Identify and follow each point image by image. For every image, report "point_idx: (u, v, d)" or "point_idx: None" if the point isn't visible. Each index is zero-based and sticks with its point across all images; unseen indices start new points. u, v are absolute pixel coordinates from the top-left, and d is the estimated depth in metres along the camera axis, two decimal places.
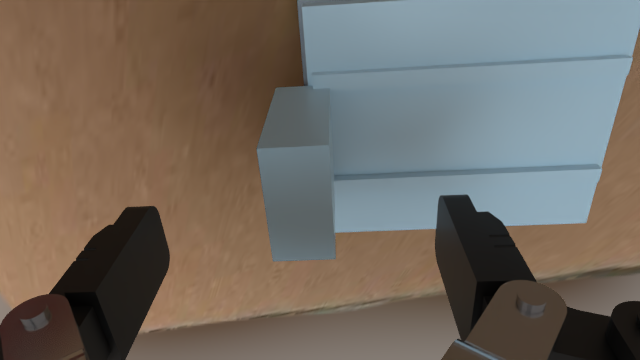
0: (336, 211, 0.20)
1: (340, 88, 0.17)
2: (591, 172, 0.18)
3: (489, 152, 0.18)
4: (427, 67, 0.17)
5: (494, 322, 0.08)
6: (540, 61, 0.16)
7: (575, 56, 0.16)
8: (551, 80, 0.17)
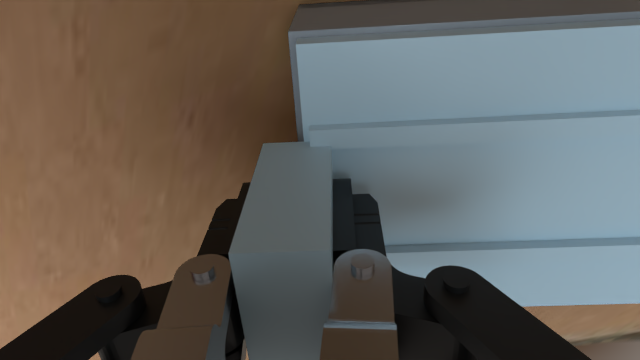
0: None
1: (345, 146, 0.13)
2: None
3: (531, 221, 0.15)
4: (456, 119, 0.13)
5: (343, 295, 0.09)
6: (603, 114, 0.13)
7: None
8: (615, 136, 0.13)
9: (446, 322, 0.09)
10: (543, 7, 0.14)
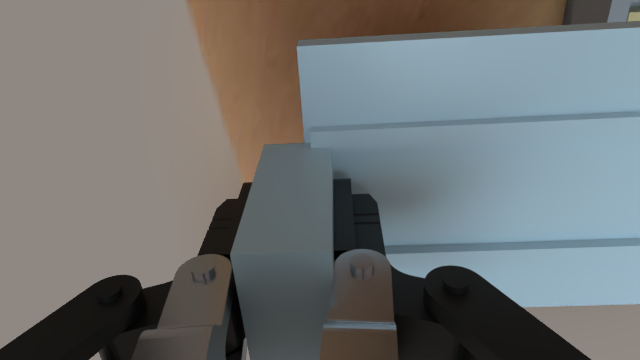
0: None
1: (345, 147, 0.13)
2: None
3: (531, 222, 0.15)
4: (456, 121, 0.13)
5: (343, 295, 0.09)
6: (602, 116, 0.13)
7: None
8: (614, 138, 0.13)
9: (445, 322, 0.09)
10: None
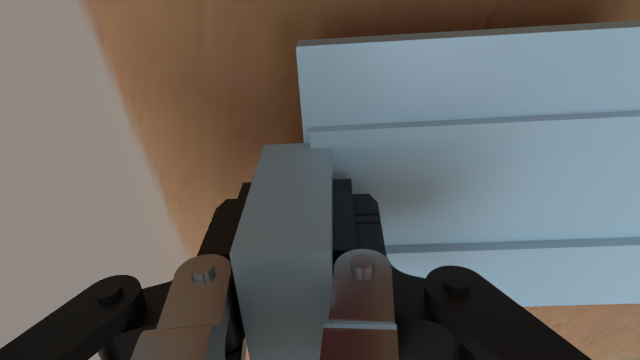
0: None
1: (345, 147, 0.13)
2: None
3: (530, 222, 0.15)
4: (455, 120, 0.13)
5: (343, 295, 0.09)
6: (601, 115, 0.13)
7: None
8: (612, 137, 0.13)
9: (446, 322, 0.09)
10: None
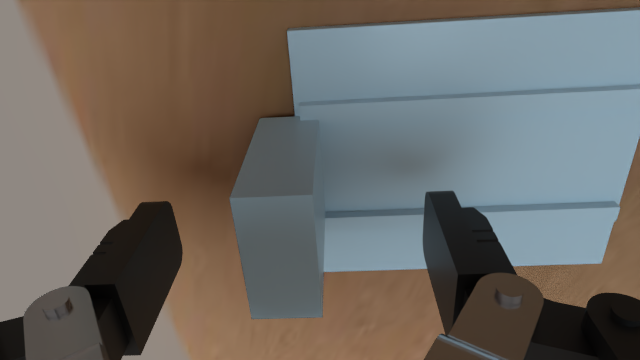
0: (327, 249, 0.18)
1: (330, 120, 0.15)
2: (608, 210, 0.17)
3: (495, 188, 0.17)
4: (427, 96, 0.15)
5: (475, 315, 0.08)
6: (552, 91, 0.15)
7: (592, 85, 0.15)
8: (564, 111, 0.15)
9: None
10: None
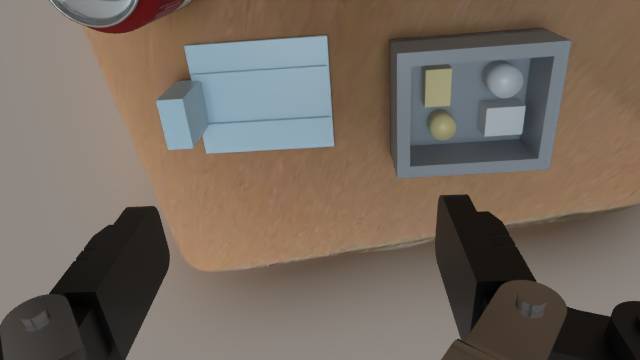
0: (212, 141, 0.41)
1: (204, 80, 0.38)
2: (325, 119, 0.39)
3: (278, 110, 0.39)
4: (241, 71, 0.38)
5: (494, 322, 0.08)
6: (288, 68, 0.38)
7: (304, 65, 0.38)
8: (297, 76, 0.38)
9: None
10: (498, 41, 0.33)
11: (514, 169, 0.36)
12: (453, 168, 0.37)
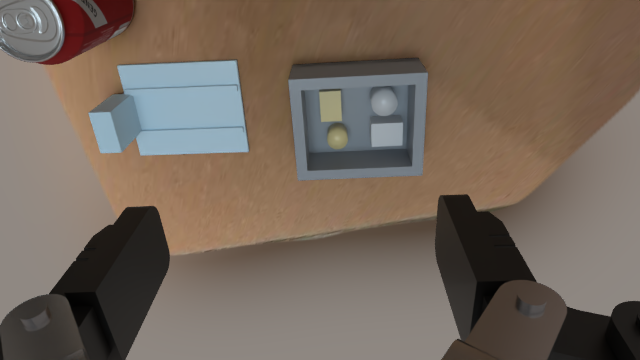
0: (145, 145, 0.48)
1: (134, 95, 0.45)
2: (239, 129, 0.47)
3: (199, 120, 0.47)
4: (166, 87, 0.45)
5: (494, 322, 0.08)
6: (205, 86, 0.45)
7: (219, 84, 0.45)
8: (213, 93, 0.45)
9: None
10: (373, 70, 0.41)
11: (393, 174, 0.44)
12: (343, 173, 0.44)
